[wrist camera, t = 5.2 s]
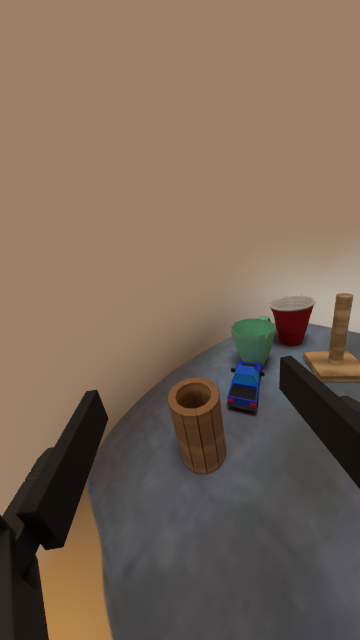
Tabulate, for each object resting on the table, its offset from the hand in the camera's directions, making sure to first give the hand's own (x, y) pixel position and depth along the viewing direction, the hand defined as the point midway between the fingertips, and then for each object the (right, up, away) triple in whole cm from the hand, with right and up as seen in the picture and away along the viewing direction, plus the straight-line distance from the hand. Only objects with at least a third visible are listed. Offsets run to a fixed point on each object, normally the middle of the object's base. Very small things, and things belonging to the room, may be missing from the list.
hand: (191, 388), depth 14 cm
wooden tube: (+3, -15, +16) cm, 23 cm away
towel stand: (+33, -6, +28) cm, 43 cm away
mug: (+19, -5, +36) cm, 41 cm away
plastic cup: (+31, -1, +41) cm, 51 cm away
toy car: (+13, -10, +26) cm, 31 cm away
